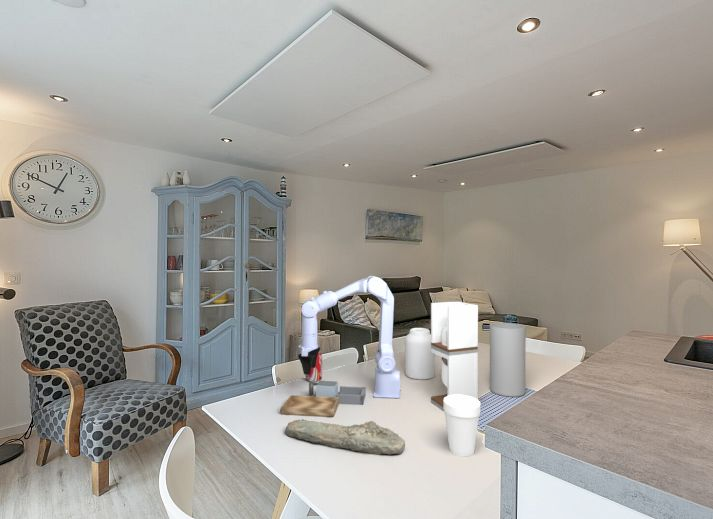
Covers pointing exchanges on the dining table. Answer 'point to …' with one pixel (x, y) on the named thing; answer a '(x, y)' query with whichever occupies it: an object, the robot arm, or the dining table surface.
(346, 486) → the dining table surface
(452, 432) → the foam cup
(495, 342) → the cylinder vase
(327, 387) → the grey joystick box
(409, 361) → the white jar
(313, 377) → the soda can
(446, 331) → the white shelf unit
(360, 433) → the long grey stone
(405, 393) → the dining table surface
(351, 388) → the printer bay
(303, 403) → the tray
